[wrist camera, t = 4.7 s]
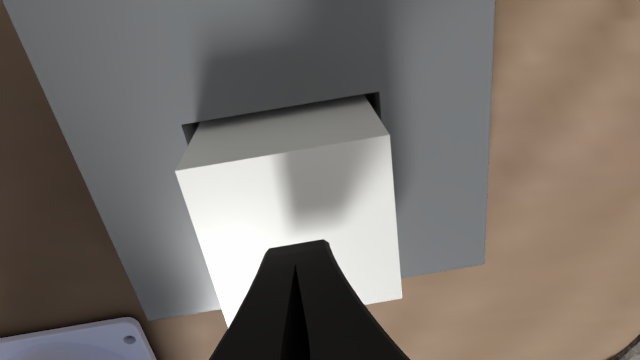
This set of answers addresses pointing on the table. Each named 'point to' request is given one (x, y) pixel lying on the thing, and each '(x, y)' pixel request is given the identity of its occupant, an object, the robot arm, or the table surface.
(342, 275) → the robot arm
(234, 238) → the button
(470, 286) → the table surface
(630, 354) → the pliers
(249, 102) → the button housing
